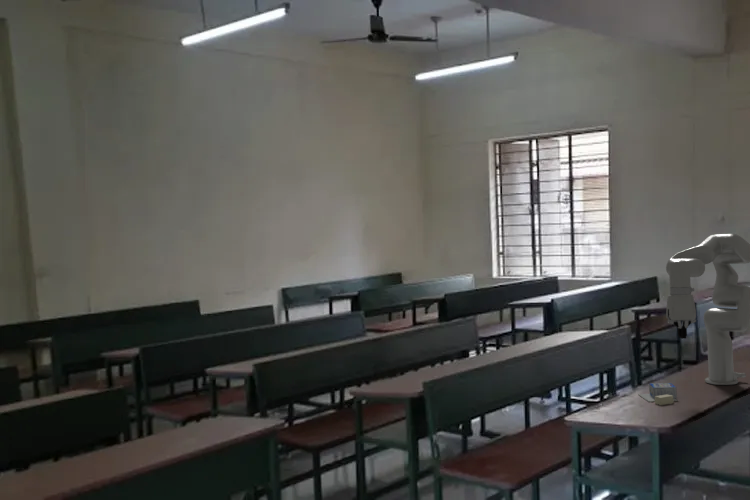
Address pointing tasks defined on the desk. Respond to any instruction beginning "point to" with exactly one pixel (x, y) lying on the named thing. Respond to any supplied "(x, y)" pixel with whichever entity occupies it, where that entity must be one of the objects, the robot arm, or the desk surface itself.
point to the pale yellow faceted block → (664, 399)
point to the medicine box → (662, 389)
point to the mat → (650, 397)
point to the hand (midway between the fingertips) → (682, 337)
